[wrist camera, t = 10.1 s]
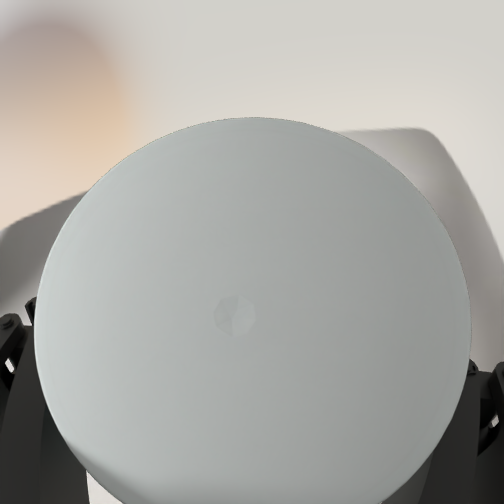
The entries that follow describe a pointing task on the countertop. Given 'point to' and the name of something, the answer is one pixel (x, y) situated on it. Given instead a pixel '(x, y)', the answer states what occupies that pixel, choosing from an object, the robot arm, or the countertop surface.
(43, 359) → the supplement tub
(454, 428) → the robot arm
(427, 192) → the countertop surface
